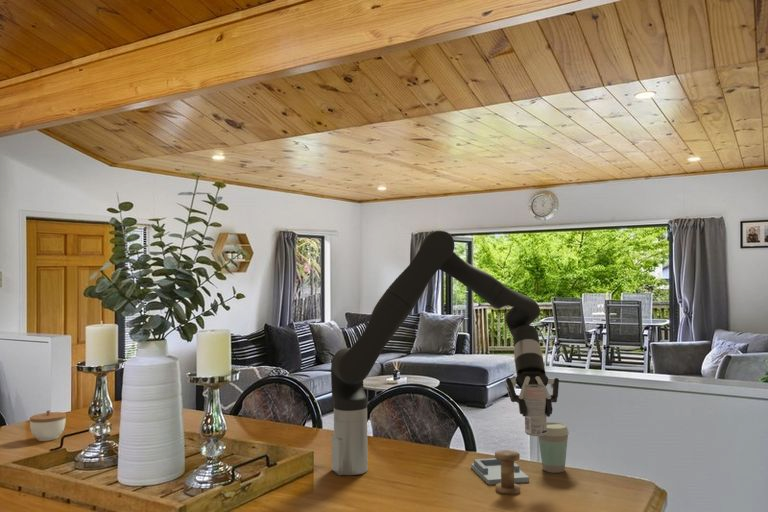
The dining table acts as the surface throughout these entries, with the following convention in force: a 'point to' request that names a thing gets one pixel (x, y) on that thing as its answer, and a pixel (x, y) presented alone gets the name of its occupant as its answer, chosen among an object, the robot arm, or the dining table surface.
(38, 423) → the lidded jar
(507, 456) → the bobbin
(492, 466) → the notched board
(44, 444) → the dining table surface
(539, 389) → the energy drink
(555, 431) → the coffee cup
